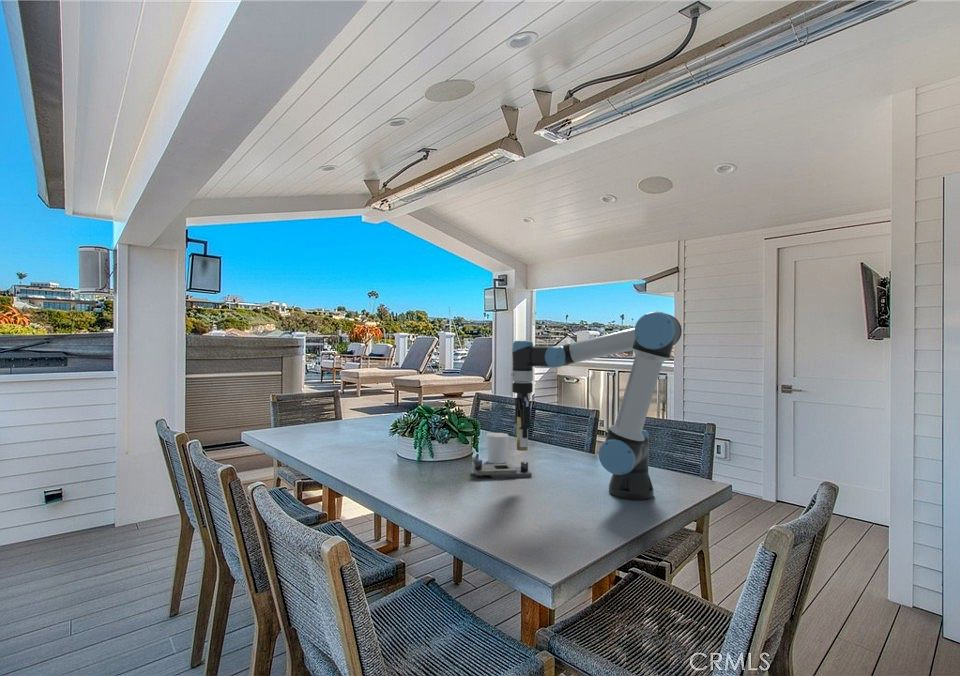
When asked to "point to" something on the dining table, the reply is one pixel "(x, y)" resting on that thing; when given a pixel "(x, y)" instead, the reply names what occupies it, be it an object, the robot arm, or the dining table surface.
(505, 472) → the toggle switch plate
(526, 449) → the toggle switch lever
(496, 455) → the candle holder
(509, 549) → the dining table surface
